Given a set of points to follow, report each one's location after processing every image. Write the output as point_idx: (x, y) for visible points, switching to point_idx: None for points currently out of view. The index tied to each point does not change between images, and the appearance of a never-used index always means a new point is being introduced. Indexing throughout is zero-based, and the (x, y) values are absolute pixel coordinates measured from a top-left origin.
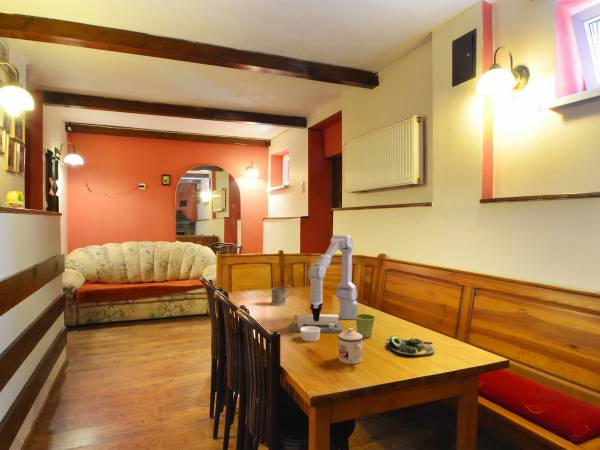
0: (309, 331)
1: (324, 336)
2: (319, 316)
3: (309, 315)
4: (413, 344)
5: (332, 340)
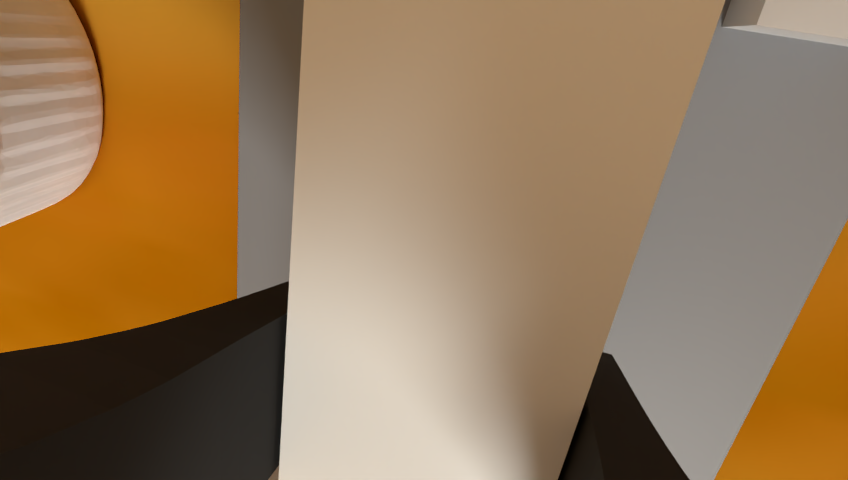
0: (24, 80)
1: (113, 287)
2: (279, 472)
3: (365, 213)
4: None
5: (9, 335)
